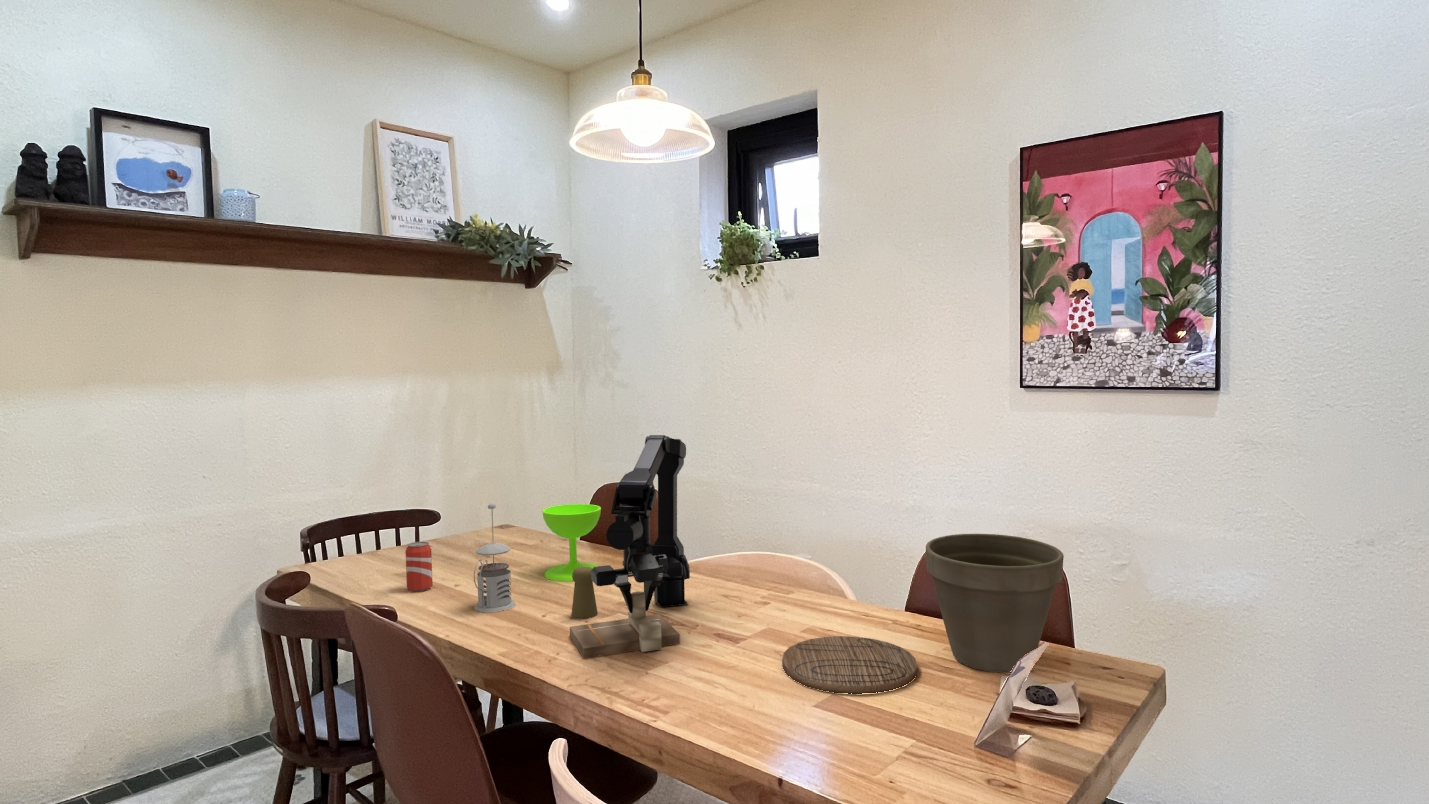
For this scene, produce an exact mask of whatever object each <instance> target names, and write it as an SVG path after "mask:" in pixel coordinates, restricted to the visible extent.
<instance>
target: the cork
mask: <svg viewBox="0 0 1429 804" xmlns="http://www.w3.org/2000/svg"><path fill="white" fill-rule="evenodd" d="M592 569H593V568H591V567H578V568H576V569H574V571H573V573H572V578H573V581H572V582H574V586H573V596H572V597H573V598H572V607H571V618H574V619H580V620H585V619H586V620H587V619H590V618H591V619H592V618H594V617H596V616H598V615H599V614H598V608H597V607H598V606H597V602H596V601H597V600H596V593H595V588H594V582H593V581H592V580H591V570H592Z"/></svg>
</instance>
